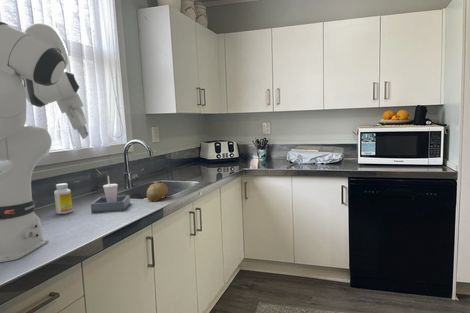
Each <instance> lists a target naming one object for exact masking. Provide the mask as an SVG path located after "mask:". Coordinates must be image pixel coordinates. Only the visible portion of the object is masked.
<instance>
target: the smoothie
mask: <svg viewBox="0 0 470 313" xmlns="http://www.w3.org/2000/svg"><path fill="white" fill-rule="evenodd" d="M118 187H119V185H118V183H110V176H109V175H107V184H104V185H102V188H103V190H104V195H105V197H106V199H107V202H117V196H118Z"/></svg>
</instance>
